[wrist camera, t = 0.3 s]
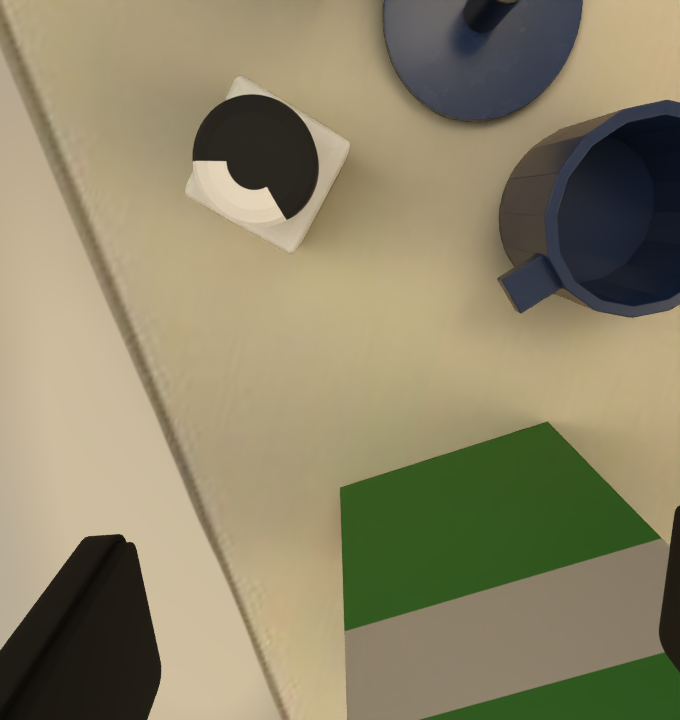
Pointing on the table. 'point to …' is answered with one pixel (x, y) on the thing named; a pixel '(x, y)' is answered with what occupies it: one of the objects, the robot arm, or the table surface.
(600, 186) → the pot
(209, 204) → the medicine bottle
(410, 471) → the hardback book
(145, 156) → the table surface
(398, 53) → the lid
